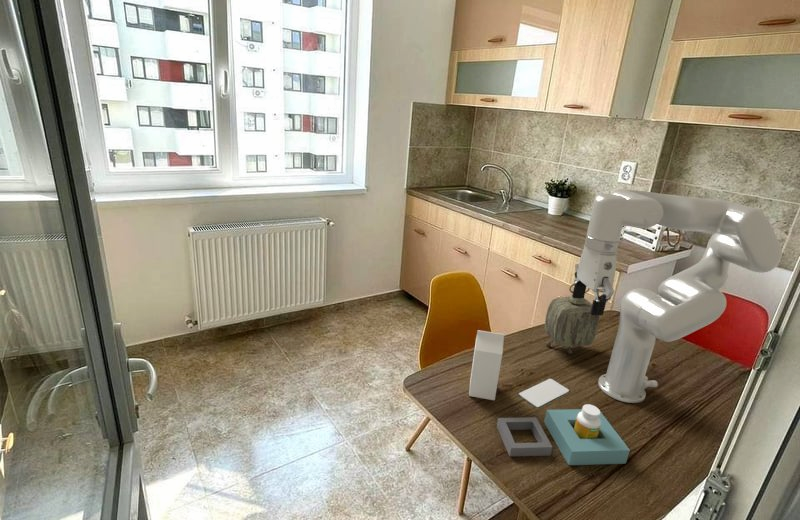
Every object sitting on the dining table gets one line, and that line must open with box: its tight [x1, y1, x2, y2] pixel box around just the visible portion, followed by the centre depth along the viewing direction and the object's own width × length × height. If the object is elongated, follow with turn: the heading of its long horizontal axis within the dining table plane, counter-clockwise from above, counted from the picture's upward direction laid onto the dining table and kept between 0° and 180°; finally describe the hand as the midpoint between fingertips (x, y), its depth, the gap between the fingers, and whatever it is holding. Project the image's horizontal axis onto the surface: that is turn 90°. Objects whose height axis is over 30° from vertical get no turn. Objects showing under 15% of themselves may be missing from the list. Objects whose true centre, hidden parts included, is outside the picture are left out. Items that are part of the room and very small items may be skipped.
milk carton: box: [468, 329, 505, 401], centre depth 120 cm, size 7×7×19 cm
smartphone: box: [517, 378, 570, 409], centre depth 125 cm, size 7×1×15 cm
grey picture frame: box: [496, 416, 553, 457], centre depth 106 cm, size 10×10×2 cm
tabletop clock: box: [544, 282, 600, 355], centre depth 142 cm, size 14×9×25 cm, turn 98°
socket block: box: [543, 408, 631, 466], centre depth 106 cm, size 14×14×4 cm
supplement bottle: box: [574, 403, 601, 439], centre depth 105 cm, size 5×5×10 cm
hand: (586, 306), depth 114 cm, fingers open, 9 cm apart
